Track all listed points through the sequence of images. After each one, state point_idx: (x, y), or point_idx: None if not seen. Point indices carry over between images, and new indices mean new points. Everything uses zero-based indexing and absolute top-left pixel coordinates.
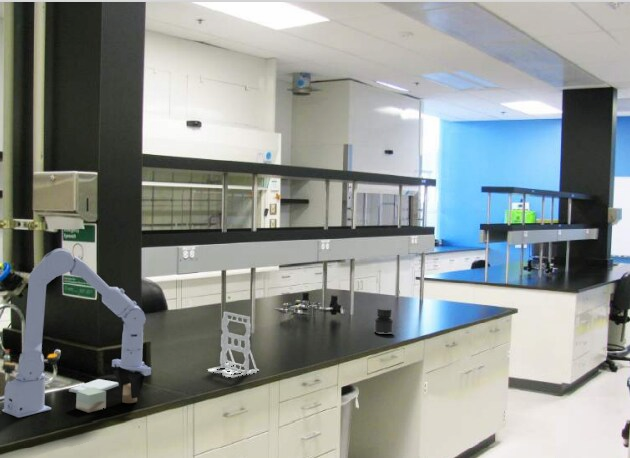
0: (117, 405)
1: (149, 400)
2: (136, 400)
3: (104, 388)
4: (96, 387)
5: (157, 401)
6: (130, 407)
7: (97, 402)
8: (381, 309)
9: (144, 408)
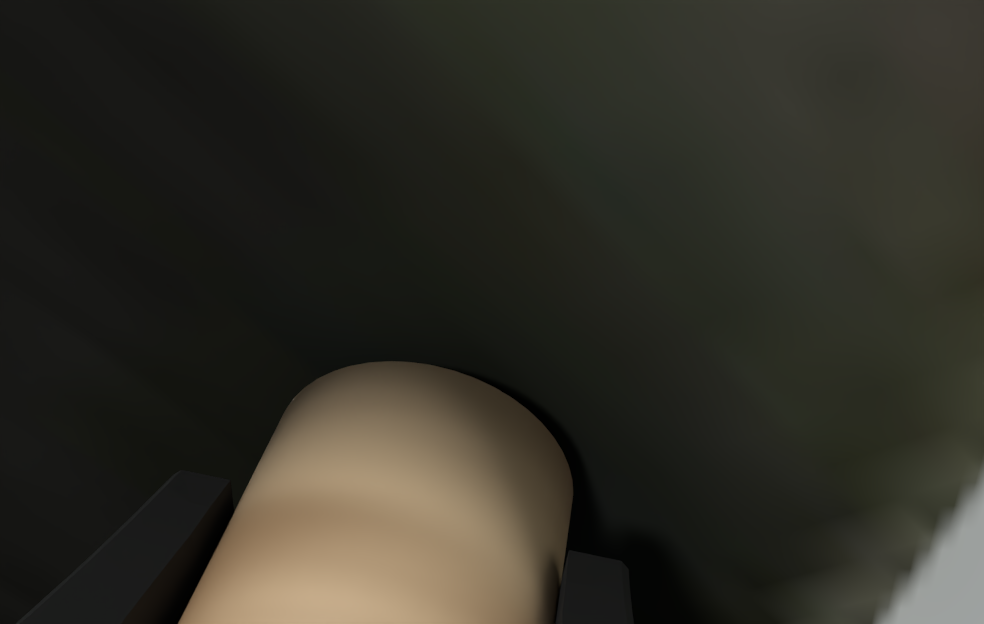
0: None
1: (670, 110)
2: (564, 478)
3: None
4: None
5: (947, 63)
6: (633, 595)
7: None
8: None
9: (915, 561)
